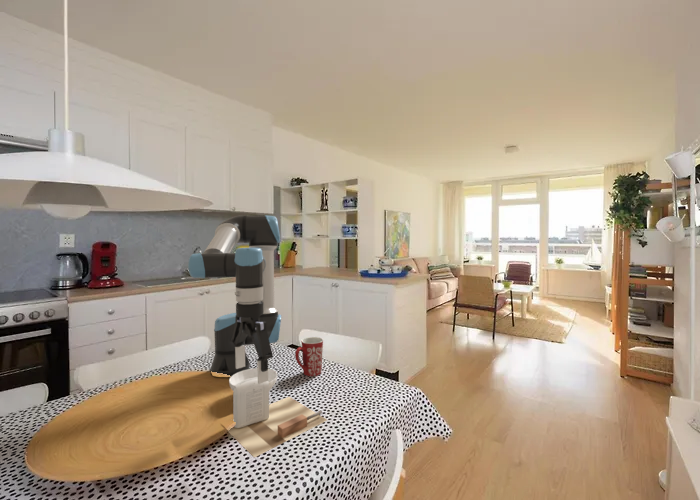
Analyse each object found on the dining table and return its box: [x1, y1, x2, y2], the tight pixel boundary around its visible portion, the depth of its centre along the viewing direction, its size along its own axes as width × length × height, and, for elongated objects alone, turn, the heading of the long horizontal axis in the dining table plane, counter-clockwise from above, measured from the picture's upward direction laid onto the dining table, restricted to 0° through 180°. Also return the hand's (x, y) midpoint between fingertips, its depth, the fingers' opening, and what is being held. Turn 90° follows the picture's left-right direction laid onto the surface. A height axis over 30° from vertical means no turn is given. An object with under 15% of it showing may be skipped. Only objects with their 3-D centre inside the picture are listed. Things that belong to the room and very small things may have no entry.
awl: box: [278, 410, 323, 438], centre depth 91 cm, size 14×2×2 cm, turn 134°
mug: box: [294, 336, 325, 377], centre depth 130 cm, size 13×9×14 cm
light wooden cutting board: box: [227, 396, 328, 458], centre depth 93 cm, size 20×23×2 cm
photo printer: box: [232, 377, 270, 428], centre depth 93 cm, size 10×4×12 cm, turn 125°
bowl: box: [228, 367, 278, 392], centre depth 111 cm, size 16×16×7 cm
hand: (251, 374), depth 93 cm, fingers open, 13 cm apart
